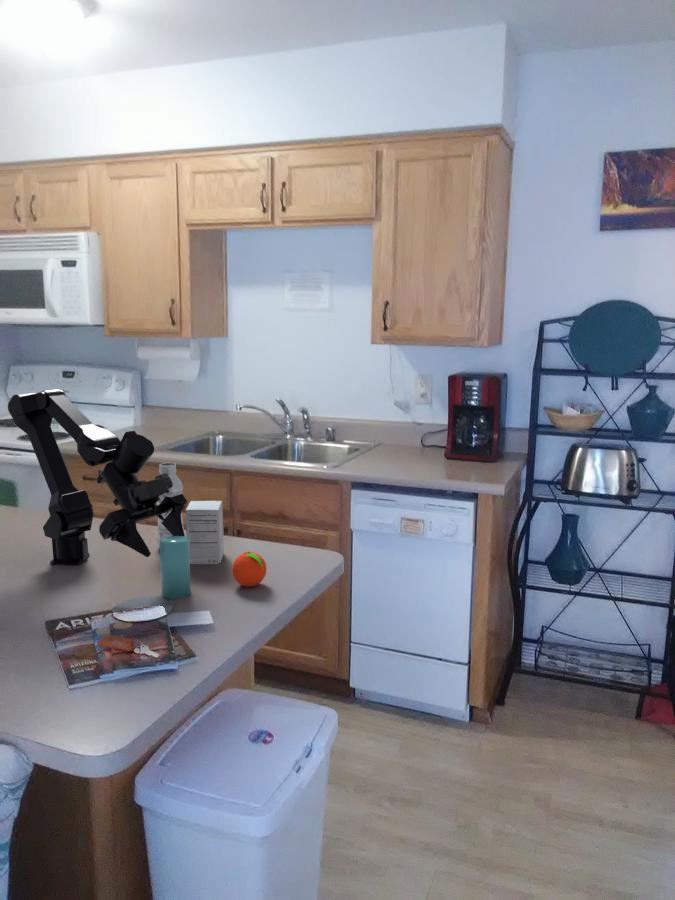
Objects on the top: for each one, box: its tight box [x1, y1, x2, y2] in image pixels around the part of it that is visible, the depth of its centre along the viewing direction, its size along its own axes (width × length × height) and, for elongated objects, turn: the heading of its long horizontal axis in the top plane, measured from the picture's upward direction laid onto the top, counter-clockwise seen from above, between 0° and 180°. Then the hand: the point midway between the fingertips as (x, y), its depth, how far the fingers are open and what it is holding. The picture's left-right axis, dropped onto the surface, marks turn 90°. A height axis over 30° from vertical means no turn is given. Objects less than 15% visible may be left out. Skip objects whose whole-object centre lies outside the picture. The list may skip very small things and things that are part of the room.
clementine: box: [231, 551, 268, 588], centre depth 144 cm, size 8×7×7 cm
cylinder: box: [158, 536, 192, 600], centre depth 139 cm, size 6×6×11 cm
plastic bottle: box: [155, 462, 187, 546], centre depth 166 cm, size 6×7×20 cm
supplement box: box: [185, 500, 225, 565], centre depth 159 cm, size 7×7×13 cm
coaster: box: [111, 595, 174, 615], centre depth 133 cm, size 11×11×1 cm
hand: (167, 549), depth 140 cm, fingers open, 9 cm apart
